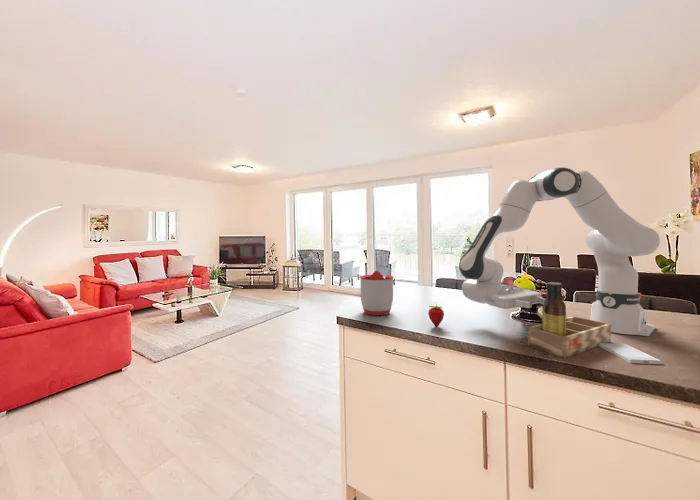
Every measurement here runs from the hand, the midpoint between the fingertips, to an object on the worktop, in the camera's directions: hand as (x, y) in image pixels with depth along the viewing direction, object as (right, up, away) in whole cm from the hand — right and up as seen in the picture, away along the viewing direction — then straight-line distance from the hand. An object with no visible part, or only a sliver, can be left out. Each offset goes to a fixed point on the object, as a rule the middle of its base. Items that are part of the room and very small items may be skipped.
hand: (539, 303), depth 97 cm
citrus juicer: (-50, -12, +41) cm, 65 cm away
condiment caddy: (+10, -13, 0) cm, 17 cm away
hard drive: (+21, -14, -9) cm, 27 cm away
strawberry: (-29, -13, +19) cm, 37 cm away
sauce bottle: (+2, -13, -4) cm, 13 cm away
